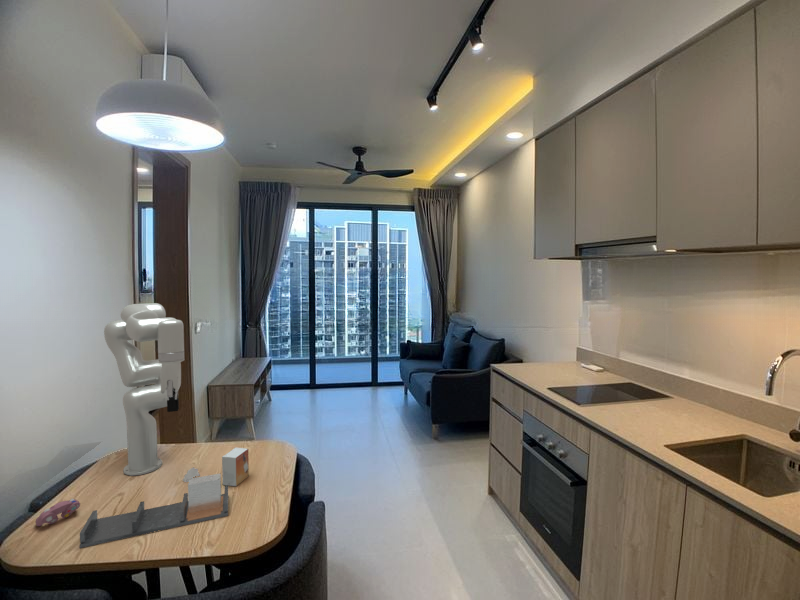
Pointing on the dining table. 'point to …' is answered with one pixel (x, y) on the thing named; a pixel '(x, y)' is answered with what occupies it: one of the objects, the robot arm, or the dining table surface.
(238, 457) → the small box
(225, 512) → the slot rack
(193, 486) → the panel
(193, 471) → the car cutout
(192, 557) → the dining table surface
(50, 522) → the video game controller
